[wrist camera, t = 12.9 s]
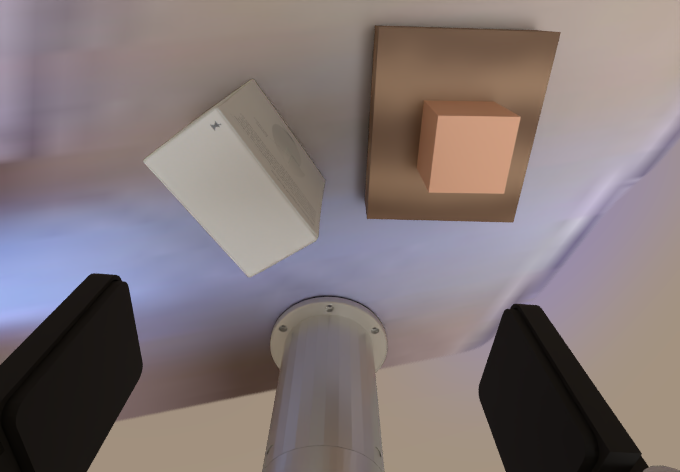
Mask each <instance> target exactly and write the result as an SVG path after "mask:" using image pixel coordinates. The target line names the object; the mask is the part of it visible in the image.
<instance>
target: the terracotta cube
mask: <svg viewBox="0 0 680 472" xmlns="http://www.w3.org/2000/svg"><path fill="white" fill-rule="evenodd" d="M520 118H521V117H520V116H518V115H517V114H515V113H513V112H511V111H510V110H508V109H506V108H504V107H503V106H501V105H499V104H498V103H496V102H494V101H429V100H424V104H423V113H422V122H421V132H420V141H419V151H418V160H417V170H418V172H419V174H420V176H421V178H422V180H423V182H424V184H425V186H426V188H427V190H428V192H429V193H489V194H504V192H505V188H506V183H507V178H508V174H509V169H510V165H511V160H512V155H513V151H514V146H515V141H516V137H517V132H518V128H519V123H520Z"/></svg>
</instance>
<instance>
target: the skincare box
mask: <svg viewBox="0 0 680 472" xmlns="http://www.w3.org/2000/svg"><path fill="white" fill-rule="evenodd" d="M144 163H145V164H146V166H147V167H148V168H149V169H150V170H151V171H152V172H153V173H154V174H155V175H156V176H157V178H158V179H159V180H160V181H161V182H162V183H163V184H164V185H165V186H166V188H167V189H168V190H169V191H170V192H171V193H172V194H173V195H174V196H175V197H176V198H177V200H178V201H179V202H180V203H181V204H182V205H183V206H184V207H185V208H186V209H187V211H188V212H189V213H190V214H191V215H192V216H193V217H194V218H195V219H196V220H197V222H198V223H199V224H200V225H201V226H202V227H203V228H204V229H205V230H206V231H207V233H208V234H209V235H210V236H211V237H212V238H213V239H214V240H215V241H216V242H217V244H218V245H219V246H220V247H221V248H222V249H223V250H224V251H225V252H226V253H227V254H228V256H229V257H230V258H231V259H232V260H233V261H234V262H235V263H236V264H237V265H238V267H239V268H240V269H241V270H242V271H243V272H244V273H245V274H246V275H247V277H252V276H254V275H256V274H258V273H260V272H262V271H263V270H265V269H267V268H269V267H270V266H272V265H274V264H276V263H278V262H279V261H281V260H283V259H285V258H287V257H288V256H290V255H292V254H294V253H295V252H297V251H299V250H301V249H303V248H304V247H306V246H308V245H310V244H311V243H313V242H315V241H316V240H317V238H318V235H319V222H320V213H321V205H322V198H323V191H324V185H325V179H324V178H323V177H322V175H321V174H320V172H319V171H318V169H317V168H316V166H315V165H314V163H313V162H312V160H311V159H310V158H309V156H308V155H307V153H306V152H305V151H304V149H303V148H302V146H301V145H300V143H299V142H298V141H297V139H296V138H295V136H294V135H293V134H292V132H291V131H290V129H289V128H288V126H287V125H286V124H285V122H284V121H283V119H282V118H281V117H280V115H279V114H278V112H277V111H276V109H275V108H274V107H273V105H272V104H271V103H270V101H269V100H268V98H267V97H266V96H265V94H264V93H263V92H262V90H261V89H260V87H259V86H258V84H257V83H256V81H255V80H254V79H251V80H249V81H248V82H247V83H245V84H244V85H242V86H241V87H240V88H238V89H237V90H236V91H234V92H233V93H232V94H230V95H229V96H227V97H226V98H225V99H223V100H222V101H220V102H219V103H218V104H216V105H215V106H213V107H212V108H211V109H209V110H208V111H206V112H205V113H204V114H202V115H201V116H200V117H198V118H197V119H195V120H194V121H193V122H191V123H190V124H189V125H188V126H186V127H185V128H184V129H182V130H181V131H180V132H178V133H177V134H176V135H174V136H173V137H172V138H171V139H169V140H168V141H167V142H165V143H164V144H163V145H162V146H160V147H159V148H158V149H157V150H155V151H154V152H153V153H151V154H150V155H149V156H148V157H146V158H145V159H144Z"/></svg>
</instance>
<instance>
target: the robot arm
mask: <svg viewBox="0 0 680 472" xmlns="http://www.w3.org/2000/svg"><path fill="white" fill-rule="evenodd" d="M270 352H271V355H272V358H273V360H274V362H275V364H276V365H277V367H278V368H279V369H280V373H279V378H278V384H277V390H276V396H275V401H274V408H273V413H272V419H271V424H270V430H269V436H268V442H267V447H266V453H265V459H264V464H263V470H262V472H384V462H383V452H382V442H381V430H380V419H379V408H378V398H377V388H376V387H377V386H376V376H375V373H376V372H377V371H378V370H379V369H380V367H381V366H382V364H383V362H384V360H385V358H386V354H387V338H386V332H385V330H384V327H383V325H382V323H381V322H380V320H379V319H378V318H377V316H376V315H375V314H373V313H372V312H371V311H370V310H369V309H367V308H366V307H364V306H362V305H361V304H359V303H356V302H354V301H351V300H348V299H343V298H339V297H318V298H312V299H309V300H305V301H302V302H300V303H298V304H295V305H294V306H292V307H291V308H289V309H288V310H286V311H285V312H284V313H283V314H282V315H281V316H280V317H279V319H278V320H277V322H276V323H275V325H274V328H273V331H272V334H271V340H270ZM142 367H143V363H142V357H141V352H140V346H139V341H138V335H137V330H136V325H135V319H134V314H133V308H132V303H131V297H130V292H129V287H128V284H127V283H126V282H123V281H122V280H121V278H120V277H119V276H118V275H109V274H95V273H94V274H91V275H89V276H88V277H87V278H86V279H85V280H84V281H83V282H82V283H81V284H80V285H79V286H78V287H77V288H76V289H75V290H74V291H73V292H72V293H71V294H70V295H69V296H68V297H67V298H66V299H65V300H64V301H63V302H62V303H61V304H60V305H59V306H58V307H57V308H56V309H55V310H54V311H53V312H52V313H51V314H50V315H49V316H48V317H47V318H46V319H45V320H44V321H43V322H42V323H41V324H40V325H39V326H38V327H37V328H36V329H35V331H34V332H33V333H32V334H31V335H30V336H29V337H28V338H27V339H26V340H25V341H24V342H23V343H22V344H21V345H20V346H19V347H18V348H17V349H16V350H15V351H14V352H13V353H12V354H11V355H10V356H9V357H8V358H7V359H6V360H5V361H4V362H3V363H2V364H1V365H0V472H87V470H88V469H89V467H90V465H91V463H92V461H93V460H94V458H95V456H96V454H97V453H98V451H99V449H100V447H101V446H102V444H103V442H104V440H105V439H106V437H107V435H108V433H109V431H110V430H111V428H112V426H113V424H114V423H115V421H116V419H117V417H118V416H119V414H120V412H121V410H122V408H123V407H124V405H125V403H126V401H127V400H128V398H129V396H130V394H131V392H132V391H133V389H134V387H135V385H136V384H137V382H138V380H139V378H140V376H141V373H142ZM479 398H480V402H481V404H482V407H483V410H484V413H485V415H486V418H487V421H488V424H489V426H490V429H491V432H492V435H493V438H494V440H495V443H496V446H497V449H498V451H499V454H500V457H501V460H502V462H503V465H504V468H505V471H506V472H680V471H679V470H677V469H674V468H670V467H666V466H650V467H648V465H647V464H646V462H645V461H644V459H643V458H642V456H641V454H642V453H641V452H640V451H639V449H638V448H637V446H636V445H635V443H634V442H633V440H632V439H631V437H630V436H629V434H628V433H627V432H626V430H625V429H624V427H623V426H622V424H621V423H620V421H619V420H618V419H617V417H616V416H615V414H614V413H613V411H612V410H611V408H610V407H609V406H608V404H607V403H606V401H605V400H604V398H603V397H602V395H601V394H600V392H599V391H598V390H597V388H596V387H595V385H594V384H593V382H592V381H591V379H590V378H589V377H588V375H587V374H586V372H585V371H584V369H583V368H582V366H581V365H580V363H579V362H578V361H577V359H576V358H575V356H574V355H573V353H572V352H571V350H570V349H569V348H568V346H567V345H566V344H565V342H564V340H563V339H562V338H561V336H560V335H559V333H558V332H557V330H556V329H555V327H554V326H553V324H552V323H551V322H550V320H549V319H548V317H547V316H546V314H545V313H544V311H543V310H542V309H541V308H540V306H537V305H526V304H513V305H512V306H511V308H510V309H506V310H505V311H504V313H503V315H502V318H501V321H500V324H499V327H498V330H497V333H496V336H495V339H494V343H493V345H492V348H491V351H490V354H489V357H488V360H487V363H486V366H485V369H484V372H483V375H482V378H481V381H480V384H479Z"/></svg>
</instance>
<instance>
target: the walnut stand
mask: <svg viewBox="0 0 680 472" xmlns="http://www.w3.org/2000/svg"><path fill="white" fill-rule="evenodd" d="M560 33H561V32H550V31H538V30H509V29H475V28H441V27H407V26H375V33H374V50H373V67H372V84H371V101H370V118H369V135H368V152H367V169H366V186H365V206H366V214H367V219H400V220H439V221H479V222H513V221H514V217H515V213H516V209H517V205H518V201H519V197H520V193H521V189H522V185H523V181H524V177H525V173H526V169H527V165H528V161H529V157H530V153H531V149H532V145H533V141H534V137H535V133H536V129H537V125H538V121H539V117H540V113H541V109H542V105H543V101H544V97H545V93H546V89H547V85H548V81H549V77H550V73H551V69H552V65H553V61H554V57H555V53H556V49H557V45H558V41H559V37H560ZM424 100H429V101H494V102H496V103H498V104H499V105H501V106H503V107H504V108H506V109H508V110H510V111H511V112H513V113H515V114H517V115H518V116H520V117H521V118H520V123H519V128H518V132H517V137H516V141H515V146H514V151H513V155H512V160H511V165H510V169H509V174H508V178H507V183H506V188H505V192H504V194H489V193H429V192H428V190H427V188H426V186H425V184H424V182H423V180H422V178H421V176H420V174H419V172H418V170H417V160H418V151H419V141H420V132H421V122H422V113H423V104H424Z"/></svg>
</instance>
